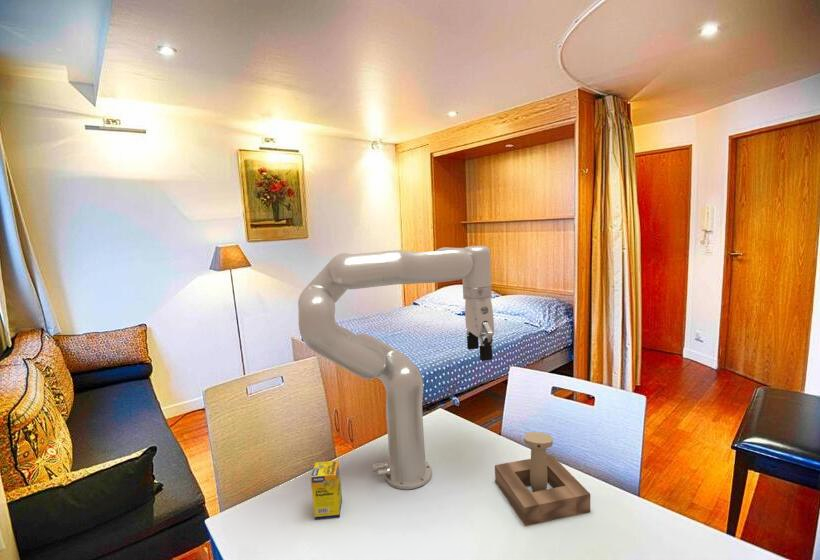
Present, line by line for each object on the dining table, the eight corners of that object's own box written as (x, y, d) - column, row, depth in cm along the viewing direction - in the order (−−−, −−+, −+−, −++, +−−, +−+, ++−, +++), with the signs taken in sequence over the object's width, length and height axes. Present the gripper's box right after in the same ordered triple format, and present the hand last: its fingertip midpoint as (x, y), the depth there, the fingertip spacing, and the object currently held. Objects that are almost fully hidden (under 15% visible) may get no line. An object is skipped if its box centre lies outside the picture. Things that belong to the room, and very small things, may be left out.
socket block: (524, 526, 88) (524, 507, 88) (495, 481, 104) (494, 465, 103) (590, 512, 91) (590, 493, 91) (552, 470, 107) (551, 454, 106)
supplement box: (340, 517, 94) (336, 474, 93) (314, 520, 94) (309, 477, 92) (342, 500, 100) (339, 459, 99) (318, 502, 100) (314, 462, 98)
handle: (553, 504, 95) (553, 444, 92) (525, 500, 96) (524, 442, 94) (552, 490, 99) (551, 433, 97) (524, 487, 101) (523, 431, 99)
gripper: (504, 296, 100) (505, 362, 103) (478, 286, 117) (480, 343, 120) (475, 299, 99) (477, 366, 101) (453, 288, 116) (456, 346, 118)
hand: (479, 354), depth 110 cm, fingers open, 9 cm apart
